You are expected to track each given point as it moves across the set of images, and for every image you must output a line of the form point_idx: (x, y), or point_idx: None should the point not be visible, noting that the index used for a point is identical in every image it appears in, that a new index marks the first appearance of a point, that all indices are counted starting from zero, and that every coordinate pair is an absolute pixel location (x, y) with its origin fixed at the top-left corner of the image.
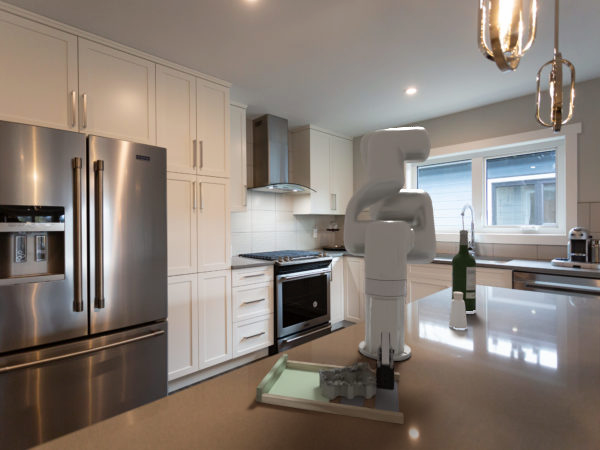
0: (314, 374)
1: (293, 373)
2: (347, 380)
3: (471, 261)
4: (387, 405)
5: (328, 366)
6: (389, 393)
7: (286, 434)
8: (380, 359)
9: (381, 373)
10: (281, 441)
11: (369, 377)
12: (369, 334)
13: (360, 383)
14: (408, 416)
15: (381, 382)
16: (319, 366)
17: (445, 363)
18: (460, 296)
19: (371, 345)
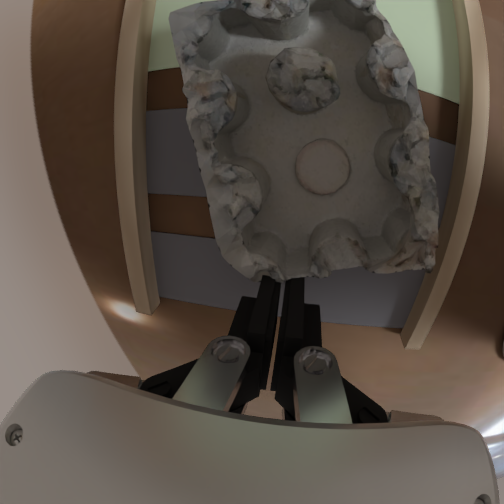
0: (421, 4)
1: None
2: (384, 134)
3: None
4: (223, 278)
5: (473, 60)
6: (309, 296)
7: (49, 35)
8: (143, 390)
9: (229, 332)
10: (35, 41)
11: (345, 249)
12: (23, 491)
13: (229, 203)
14: (185, 319)
15: (239, 303)
16: (466, 24)
17: (455, 415)
18: None
19: (9, 411)
